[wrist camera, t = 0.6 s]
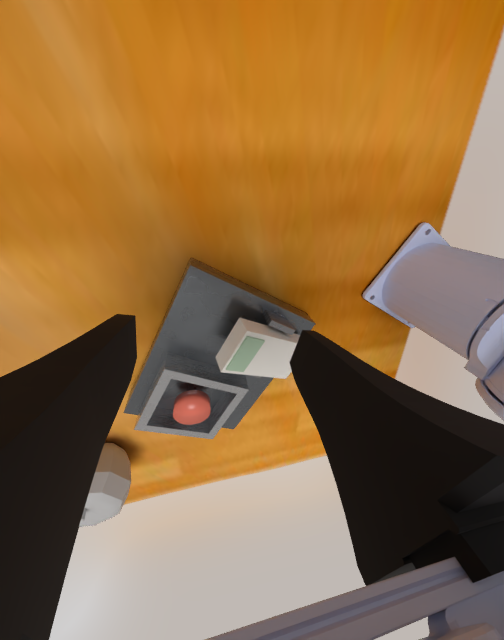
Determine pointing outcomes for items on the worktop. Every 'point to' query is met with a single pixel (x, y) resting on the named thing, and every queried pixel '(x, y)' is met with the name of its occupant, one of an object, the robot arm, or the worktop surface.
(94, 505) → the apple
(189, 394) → the button
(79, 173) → the worktop surface
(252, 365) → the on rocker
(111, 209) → the worktop surface
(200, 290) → the panel
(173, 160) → the worktop surface
